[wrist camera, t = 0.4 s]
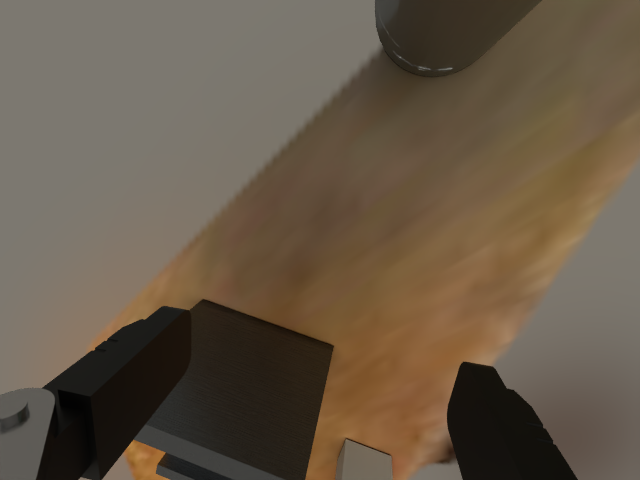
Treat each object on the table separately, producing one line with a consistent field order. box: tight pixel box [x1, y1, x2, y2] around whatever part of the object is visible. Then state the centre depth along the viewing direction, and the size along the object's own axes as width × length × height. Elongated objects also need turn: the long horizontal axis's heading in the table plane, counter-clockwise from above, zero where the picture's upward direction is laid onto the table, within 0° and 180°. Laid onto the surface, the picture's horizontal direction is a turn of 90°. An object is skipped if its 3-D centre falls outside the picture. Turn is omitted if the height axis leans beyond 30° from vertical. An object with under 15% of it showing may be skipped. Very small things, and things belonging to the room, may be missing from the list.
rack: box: [134, 299, 334, 480], centre depth 29 cm, size 23×15×14 cm, turn 163°
